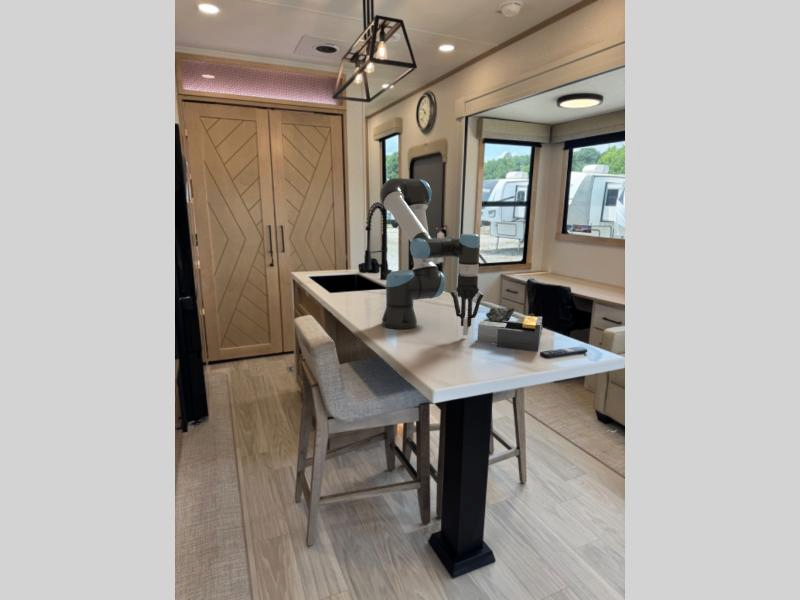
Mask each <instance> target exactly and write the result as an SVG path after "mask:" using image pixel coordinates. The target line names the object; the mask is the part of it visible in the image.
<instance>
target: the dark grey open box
mask: <svg viewBox="0 0 800 600" xmlns="http://www.w3.org/2000/svg"><path fill="white" fill-rule="evenodd" d="M523 320H524V322H516V321H513V320H505V321H504V320H503V321H502V323H507V328H498V335H497V344H496V347H497V348H501V349H511V350H519V351H525V352H528V351H529V352H535V353H538V352H539V348H540V345H541V344H540V343H541V338H542V337H541V336H542V335H541V333H542V331H541V325H542V326H543V324H542V323H543V316H535V317H532V316H529V315H525V318H523Z"/></svg>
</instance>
